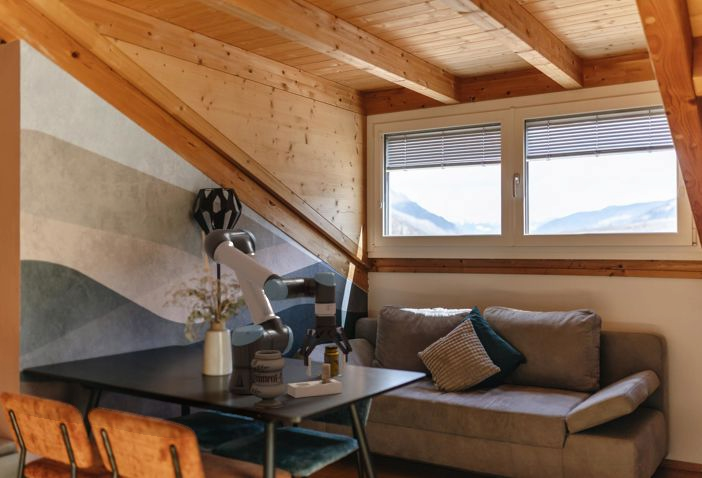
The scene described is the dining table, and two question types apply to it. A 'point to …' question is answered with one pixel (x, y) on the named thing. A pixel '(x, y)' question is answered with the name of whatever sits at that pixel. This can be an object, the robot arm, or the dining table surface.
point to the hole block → (314, 388)
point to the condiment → (332, 360)
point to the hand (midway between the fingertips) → (326, 373)
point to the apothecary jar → (268, 378)
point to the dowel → (325, 373)
